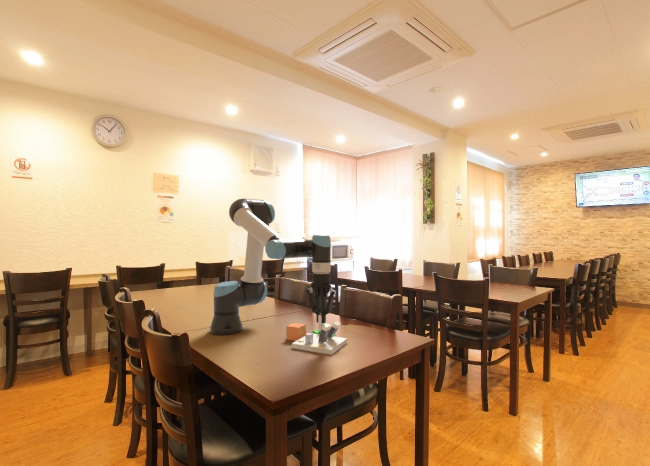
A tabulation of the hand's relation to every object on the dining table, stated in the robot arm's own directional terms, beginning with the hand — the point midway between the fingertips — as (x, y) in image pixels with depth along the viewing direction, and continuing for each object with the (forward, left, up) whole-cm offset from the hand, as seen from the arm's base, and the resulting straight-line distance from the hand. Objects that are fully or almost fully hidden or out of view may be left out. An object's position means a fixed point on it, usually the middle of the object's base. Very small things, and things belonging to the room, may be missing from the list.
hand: (321, 330), depth 138 cm
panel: (-3, +4, -8) cm, 9 cm away
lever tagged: (0, 0, -4) cm, 4 cm away
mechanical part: (-7, +17, -8) cm, 20 cm away
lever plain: (0, +7, -4) cm, 8 cm away
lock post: (-6, 0, -6) cm, 8 cm away
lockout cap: (-17, +8, -8) cm, 20 cm away
